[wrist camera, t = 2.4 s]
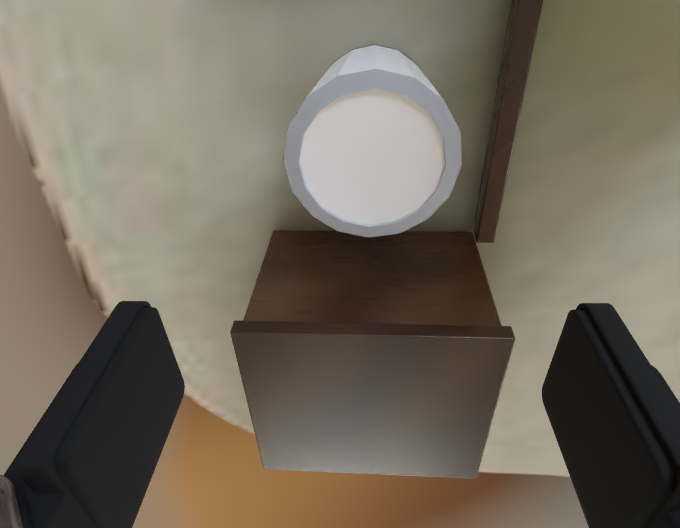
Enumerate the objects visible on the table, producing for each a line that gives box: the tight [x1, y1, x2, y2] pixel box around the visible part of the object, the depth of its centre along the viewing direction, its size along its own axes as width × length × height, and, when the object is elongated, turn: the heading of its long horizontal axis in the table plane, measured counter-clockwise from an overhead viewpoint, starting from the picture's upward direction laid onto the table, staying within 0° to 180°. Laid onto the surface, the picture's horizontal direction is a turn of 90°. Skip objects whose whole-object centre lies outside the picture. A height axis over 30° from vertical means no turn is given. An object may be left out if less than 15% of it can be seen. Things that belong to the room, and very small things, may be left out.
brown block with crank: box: [230, 0, 543, 479], centre depth 23 cm, size 14×27×9 cm, turn 2°
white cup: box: [283, 45, 462, 237], centre depth 20 cm, size 7×7×7 cm
